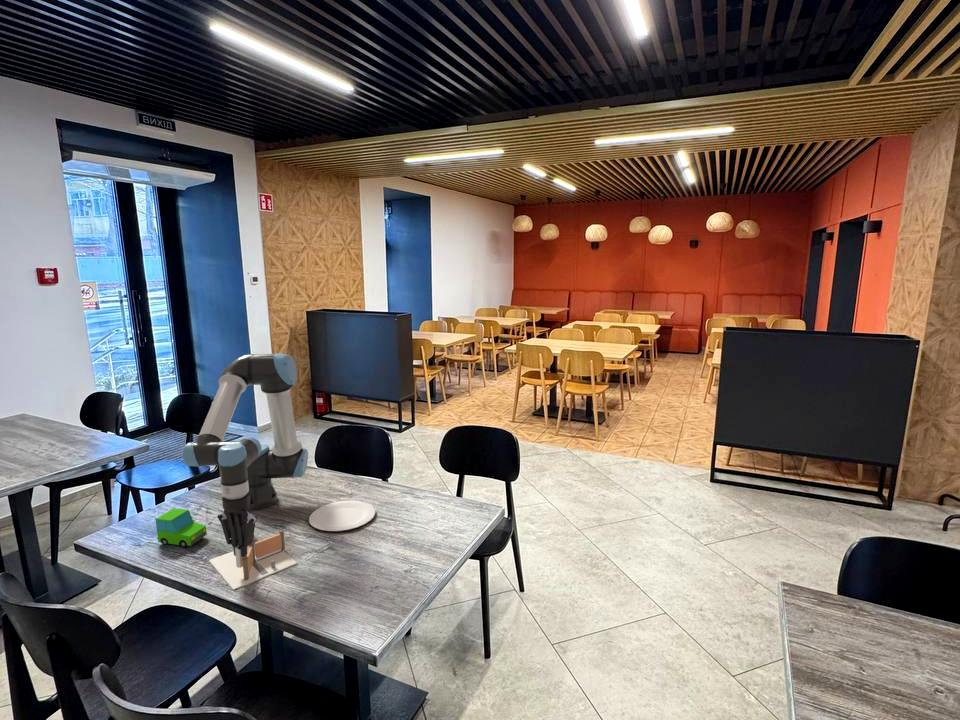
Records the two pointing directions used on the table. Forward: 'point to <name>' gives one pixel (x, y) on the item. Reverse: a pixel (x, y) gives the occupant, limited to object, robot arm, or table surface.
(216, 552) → the table surface
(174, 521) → the toy car
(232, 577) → the card
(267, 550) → the fixed panel
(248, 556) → the panel
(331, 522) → the plate
